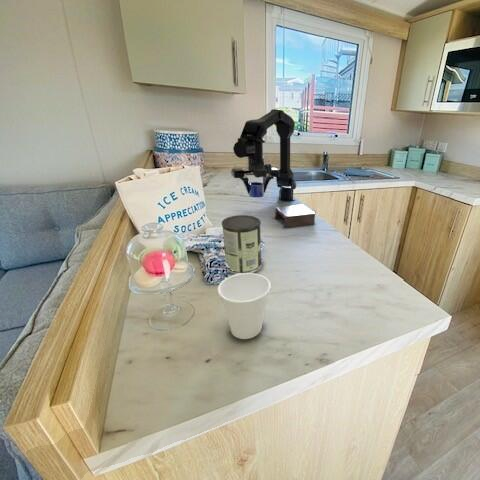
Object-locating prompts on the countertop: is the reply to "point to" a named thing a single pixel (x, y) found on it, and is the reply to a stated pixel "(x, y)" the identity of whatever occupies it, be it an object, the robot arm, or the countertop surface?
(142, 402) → the countertop surface
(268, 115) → the robot arm
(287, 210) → the white-topped brown block
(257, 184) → the ramekin
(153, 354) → the countertop surface
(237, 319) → the cup
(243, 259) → the coffee can
